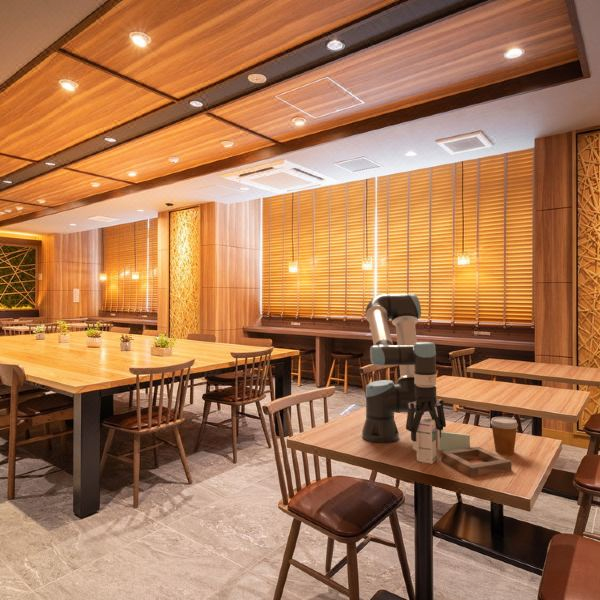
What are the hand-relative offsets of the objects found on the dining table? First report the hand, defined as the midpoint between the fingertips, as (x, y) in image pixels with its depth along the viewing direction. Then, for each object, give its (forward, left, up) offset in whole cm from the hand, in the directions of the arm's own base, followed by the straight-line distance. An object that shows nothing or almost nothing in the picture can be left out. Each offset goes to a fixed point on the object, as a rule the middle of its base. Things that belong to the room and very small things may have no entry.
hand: (426, 448), depth 158 cm
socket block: (+10, +13, -4) cm, 17 cm away
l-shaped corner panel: (-8, +18, -5) cm, 21 cm away
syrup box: (0, 0, -4) cm, 4 cm away
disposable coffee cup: (+3, +32, -4) cm, 32 cm away
